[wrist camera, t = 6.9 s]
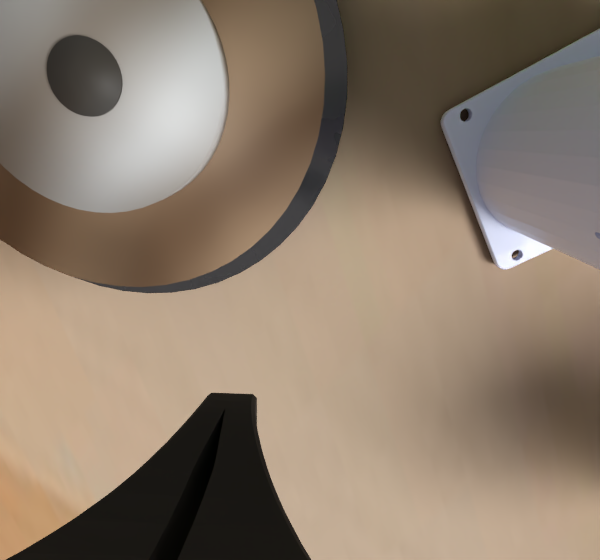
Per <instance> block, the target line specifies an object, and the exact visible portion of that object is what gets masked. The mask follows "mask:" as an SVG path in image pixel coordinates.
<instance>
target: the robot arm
mask: <svg viewBox="0 0 600 560" xmlns="http://www.w3.org/2000/svg"><path fill="white" fill-rule="evenodd" d="M463 109H466V110H467V111H468V112H469V117H468V119H467V120H466V121H462V120H461V119H460V113H461V111H462V110H463ZM441 127H442V130H443V133H444V135H445V138H446V140H447V143H448V145H449V148H450V151H451V153H452V156H453V158H454V161H455V164H456V166H457V169H458V171H459V174H460V176H461V179H462V182H463V184H464V187H465V189H466V192H467V195H468V197H469V200H470V202H471V205H472V207H473V210H474V213H475V215H476V218H477V220H478V223H479V226H480V228H481V231H482V233H483V236H484V239H485V241H486V244H487V246H488V249H489V251H490V254H491V257H492V259H493V262H494V264H495V265H496V266H497V267H499V268H501V269H510V268H512V267H514V266H516V265H518V264H521V263H523V262H525V261H527V260H529V259H531V258H534V257H536V256H538V255H540V254H542V253H545V252H547V251H549V250H551V249H555V250H558V251H560V252H562V253H564V254H566V255H569V256H571V257H573V258H575V259H577V260H580V261H582V262H584V263H586V264H589V265H591V266H593V267H595V268H597V269H600V28H599V29H597V30H596V31H594V32H592V33H590V34H588V35H586V36H585V37H583V38H581V39H579V40H577V41H575V42H573V43H572V44H570V45H568V46H566V47H564V48H562V49H560V50H559V51H557V52H555V53H553V54H551V55H549V56H547V57H546V58H544V59H542V60H540V61H538V62H536V63H534V64H533V65H531V66H529V67H527V68H525V69H523V70H522V71H520V72H518V73H516V74H514V75H512V76H510V77H509V78H507V79H505V80H503V81H501V82H499V83H497V84H496V85H494V86H492V87H490V88H488V89H486V90H484V91H483V92H481V93H479V94H477V95H475V96H473V97H471V98H470V99H468V100H466V101H464V102H462V103H460V104H459V105H457V106H455V107H453V108H451V109H449V110H448V111H446V112H445V113H444V114H443V116H442V118H441ZM515 250H519V253H518V255H517V256H516V257H515V258H512V253H513V252H514V251H515ZM6 560H311V559H310V557H309V555H308V554H307V552H306V550H305V549H304V547H303V545H302V544H301V542H300V540H299V538H298V536H297V534H296V532H295V530H294V529H293V527H292V525H291V523H290V521H289V519H288V517H287V515H286V513H285V511H284V509H283V507H282V504H281V502H280V500H279V498H278V495H277V493H276V490H275V488H274V486H273V483H272V480H271V478H270V475H269V472H268V469H267V466H266V462H265V459H264V456H263V452H262V449H261V444H260V440H259V436H258V431H257V398H256V397H255V396H254V395H253V394H230V393H211V394H209V395H208V396H207V397H206V399H205V400H204V401H203V402H202V403H201V405H200V406H199V407H198V408H197V409H196V411H195V412H194V413H193V414H192V415H191V416H190V418H189V419H188V420H187V421H186V422H185V423H184V424H183V425H182V427H181V428H180V429H179V430H178V431H177V432H176V433H175V434H174V435H173V436H172V437H171V438H170V439H169V440H168V442H167V443H166V444H165V445H164V446H163V447H161V448H160V449H159V450H158V451H157V452H156V453H155V454H154V455H153V456H152V457H151V458H150V459H149V460H148V461H147V462H146V463H145V464H144V465H143V466H142V467H140V468H139V469H138V470H137V471H136V472H135V473H134V474H133V475H131V476H130V477H129V478H128V479H127V480H125V481H124V482H123V483H122V484H121V485H119V486H118V487H117V488H116V489H114V490H113V491H112V492H111V493H109V494H108V495H107V496H105V497H104V498H103V499H101V500H100V501H98V502H97V503H96V504H94V505H93V506H91V507H90V508H89V509H87V510H86V511H84V512H83V513H82V514H80V515H79V516H77V517H76V518H75V519H73V520H72V521H70V522H68V523H67V524H65V525H64V526H62V527H61V528H59V529H58V530H56V531H54V532H53V533H51V534H50V535H48V536H46V537H45V538H43V539H41V540H40V541H38V542H36V543H35V544H33V545H31V546H30V547H28V548H26V549H24V550H23V551H21V552H19V553H17V554H16V555H14V556H12V557H10V558H8V559H6Z"/></svg>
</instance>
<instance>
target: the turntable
mask: <svg viewBox="0 0 600 560" xmlns="http://www.w3.org/2000/svg"><path fill="white" fill-rule="evenodd" d="M324 88H325V66H324V52H323V41H322V35H321V30H320V24H319V19H318V14H317V9H316V5H315V2H314V0H0V239H1V240H2V241H4V242H5V243H7V244H8V245H10V246H11V247H13V248H14V249H16V250H17V251H19V252H20V253H22V254H24V255H26V256H27V257H29V258H31V259H33V260H35V261H37V262H39V263H41V264H43V265H44V266H47V267H49V268H52V269H54V270H57V271H59V272H62V273H64V274H67V275H69V276H73V277H76V278H80V279H84V280H87V281H91V282H95V283H101V284H108V285H114V286H128V287H148V286H159V285H168V284H173V283H177V282H182V281H186V280H190V279H193V278H196V277H198V276H201V275H204V274H207V273H209V272H212V271H214V270H216V269H218V268H220V267H221V266H223V265H225V264H227V263H229V262H231V261H233V260H234V259H236V258H237V257H238V256H240V255H241V254H243V253H244V252H245V251H247V250H248V249H250V248H251V247H252V246H253V245H254V244H255V243H257V242H258V241H259V240H260V239H261V238H262V237H263V236H264V235H265V234H266V233H267V232H268V231H269V230H270V229H271V228H272V227H273V225H274V224H275V223H276V222H277V220H278V219H279V218H280V217H281V216H282V214H283V213H284V212H285V211H286V209H287V207H288V206H289V204H290V202H291V201H292V199H293V198H294V196H295V194H296V193H297V191H298V189H299V188H300V185H301V183H302V181H303V179H304V176H305V174H306V172H307V170H308V167H309V165H310V163H311V159H312V156H313V153H314V149H315V146H316V143H317V139H318V136H319V130H320V125H321V119H322V113H323V107H324Z"/></svg>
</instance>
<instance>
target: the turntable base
mask: <svg viewBox="0 0 600 560" xmlns="http://www.w3.org/2000/svg"><path fill="white" fill-rule="evenodd" d="M314 2H315V5H316V9H317V14H318V19H319V24H320V30H321V35H322V41H323V52H324V66H325V88H324V107H323V113H322V119H321V125H320V130H319V136H318V139H317V143H316V146H315V149H314V153H313V156H312V159H311V163H310V165H309V167H308V170H307V172H306V174H305V176H304V179H303V181H302V183H301V185H300V188H299V189H298V191H297V193H296V194H295V196H294V198H293V199H292V201H291V202H290V204H289V206H288V207H287V209H286V211H285V212H284V213H283V214H282V216H281V217H280V218H279V219H278V220H277V222H276V223H275V224H274V225H273V227H272V228H271V229H270V230H269V231H268V232H267V233H266V234H265V235H264V236H263V237H262V238H261V239H260V240H259V241H258V242H257V243H255V244H254V245H253V246H252V247H251V248H250V249H248V250H247V251H245V252H244V253H243V254H241V255H240V256H238V257H237V258H236V259H234V260H233V261H231V262H229V263H227V264H225V265H223V266H221V267H220V268H218V269H216V270H214V271H212V272H209V273H207V274H204V275H201V276H198V277H196V278H193V279H190V280H186V281H182V282H177V283H173V284H168V285H159V286H148V287H128V286H114V285H108V284H101V283H95V282H91V281H87V280H84V279H81V280H84V281H87V282H90V283H93V284H96V285H99V286H104V287H108V288H113V289H118V290H122V291H132V292H142V293H168V292H178V291H184V290H191V289H197V288H200V287H203V286H207V285H210V284H214V283H217V282H220V281H222V280H225V279H227V278H229V277H232V276H234V275H236V274H238V273H241V272H242V271H244V270H246V269H247V268H249V267H251V266H252V265H254V264H256V263H257V262H259V261H260V260H262V259H263V258H264V257H266V256H267V255H268V254H269V253H271V252H272V251H273V250H274V249H276V248H277V247H278V246H279V245H280V244H281V243H282V242H283V241H284V240H285V239H286V238H287V237H288V236H289V235H290V234H291V233H292V232H293V231H294V230H295V229H296V228H297V226H298V225H299V224H300V222H301V221H302V220H303V218H304V217H305V215H306V214H307V213H308V211H309V210H310V209H311V207H312V206H313V204H314V202H315V200H316V199H317V197H318V195H319V193H320V191H321V189H322V188H323V186H324V184H325V182H326V180H327V177H328V174H329V172H330V169H331V167H332V164H333V162H334V159H335V157H336V153H337V149H338V145H339V141H340V137H341V133H342V129H343V124H344V116H345V108H346V100H347V58H346V49H345V40H344V31H343V27H342V22H341V18H340V14H339V9H338V5H337V1H336V0H314ZM75 278H76V277H75ZM78 279H80V278H78Z"/></svg>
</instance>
